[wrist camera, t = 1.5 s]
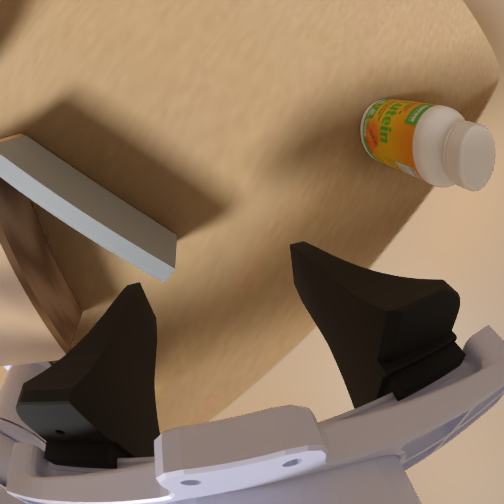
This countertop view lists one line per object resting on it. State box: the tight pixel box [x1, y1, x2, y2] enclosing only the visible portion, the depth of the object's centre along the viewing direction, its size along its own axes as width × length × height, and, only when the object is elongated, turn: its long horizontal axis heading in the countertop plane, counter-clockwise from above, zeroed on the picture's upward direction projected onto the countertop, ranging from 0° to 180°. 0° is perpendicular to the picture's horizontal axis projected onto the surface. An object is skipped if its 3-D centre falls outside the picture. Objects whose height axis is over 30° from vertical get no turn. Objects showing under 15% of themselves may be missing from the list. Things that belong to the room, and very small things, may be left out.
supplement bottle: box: [360, 99, 495, 191], centre depth 16 cm, size 5×5×10 cm
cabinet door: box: [0, 134, 177, 283], centre depth 15 cm, size 15×1×5 cm, turn 50°
